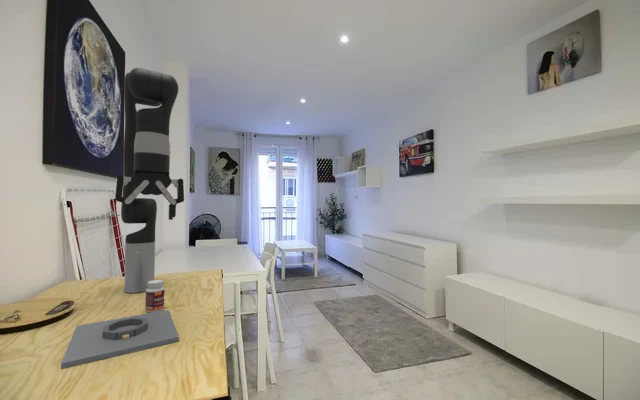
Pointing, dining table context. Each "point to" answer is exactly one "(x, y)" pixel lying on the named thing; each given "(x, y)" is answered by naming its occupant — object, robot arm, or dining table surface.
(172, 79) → the robot arm
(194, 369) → the dining table surface
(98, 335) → the socket
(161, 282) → the pill bottle
